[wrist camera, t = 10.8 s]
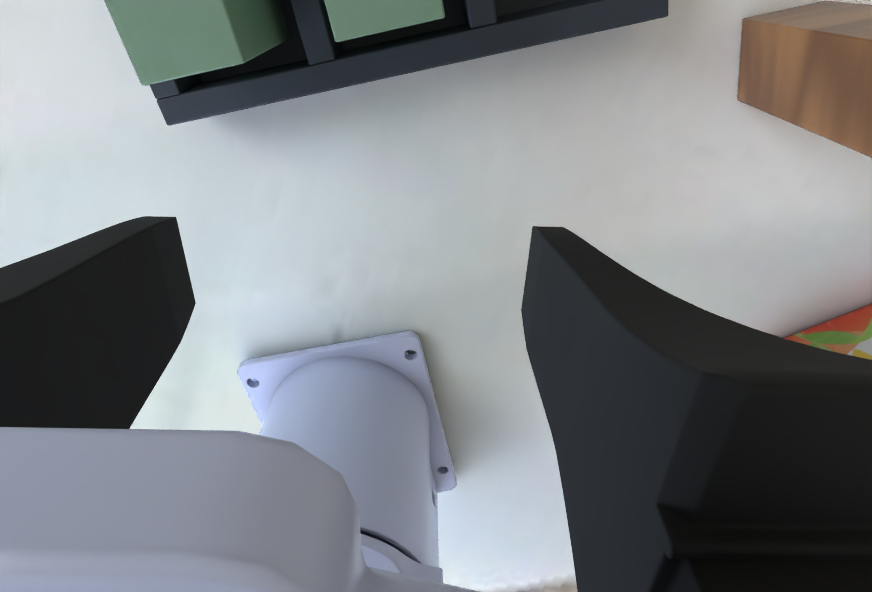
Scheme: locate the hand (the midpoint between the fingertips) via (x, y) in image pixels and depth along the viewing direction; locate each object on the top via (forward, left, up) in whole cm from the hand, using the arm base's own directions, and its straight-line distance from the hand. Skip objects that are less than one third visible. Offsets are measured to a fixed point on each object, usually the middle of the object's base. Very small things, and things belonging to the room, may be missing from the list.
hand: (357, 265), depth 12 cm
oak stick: (0, -13, -10) cm, 17 cm away
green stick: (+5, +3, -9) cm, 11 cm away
